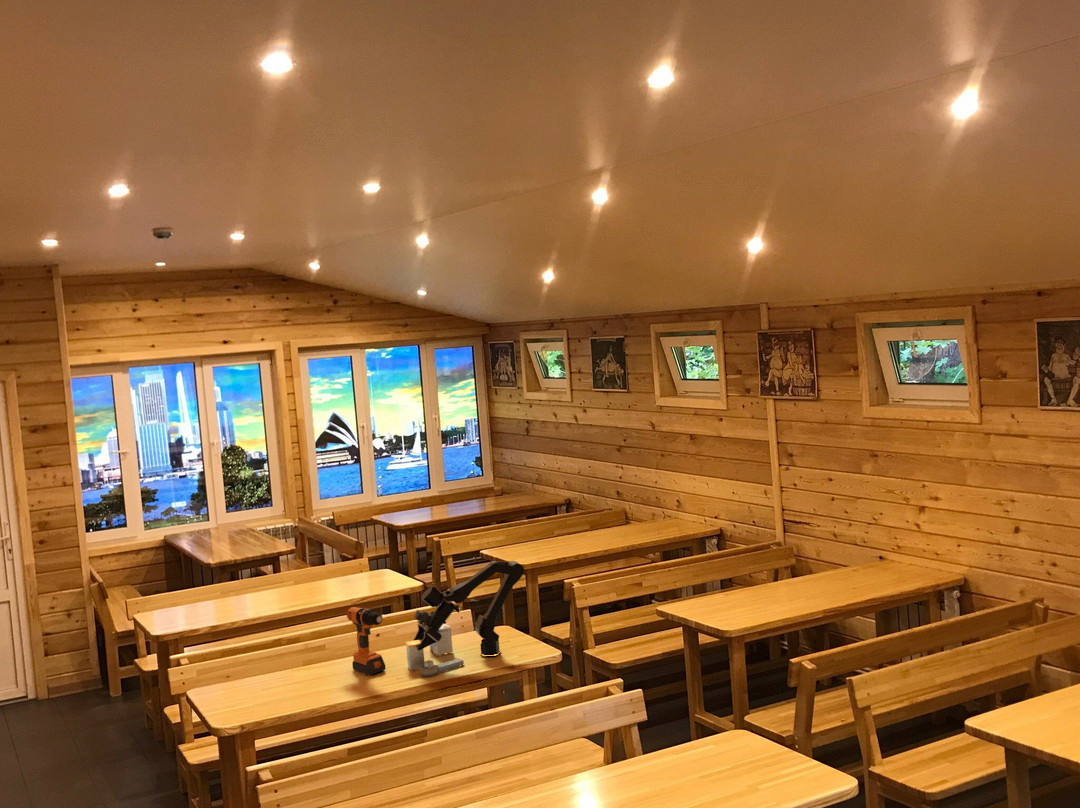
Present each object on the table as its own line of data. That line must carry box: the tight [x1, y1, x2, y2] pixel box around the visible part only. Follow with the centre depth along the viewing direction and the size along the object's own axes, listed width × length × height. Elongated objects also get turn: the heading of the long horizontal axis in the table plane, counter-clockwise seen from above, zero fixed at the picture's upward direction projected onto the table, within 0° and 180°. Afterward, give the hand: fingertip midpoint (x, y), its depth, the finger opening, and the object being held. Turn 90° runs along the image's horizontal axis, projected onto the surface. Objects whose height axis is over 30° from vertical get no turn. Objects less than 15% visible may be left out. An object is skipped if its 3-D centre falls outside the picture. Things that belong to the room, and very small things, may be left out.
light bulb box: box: [429, 623, 454, 656], centre depth 417 cm, size 11×7×11 cm, turn 25°
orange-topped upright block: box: [405, 639, 426, 672], centre depth 397 cm, size 6×6×10 cm
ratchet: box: [419, 658, 465, 678], centre depth 391 cm, size 18×7×5 cm, turn 130°
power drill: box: [346, 606, 386, 676], centre depth 397 cm, size 22×7×25 cm, turn 41°
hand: (415, 646), depth 397 cm, fingers open, 9 cm apart
